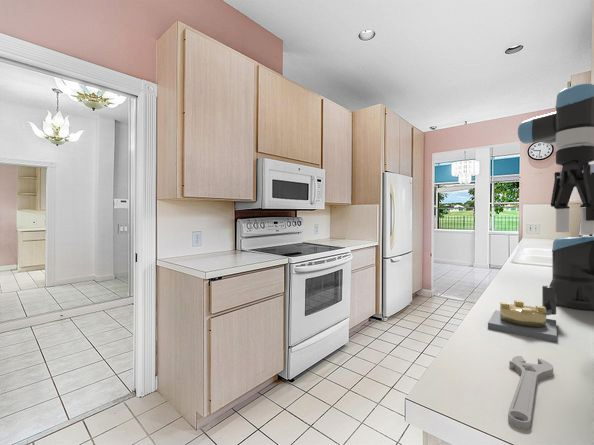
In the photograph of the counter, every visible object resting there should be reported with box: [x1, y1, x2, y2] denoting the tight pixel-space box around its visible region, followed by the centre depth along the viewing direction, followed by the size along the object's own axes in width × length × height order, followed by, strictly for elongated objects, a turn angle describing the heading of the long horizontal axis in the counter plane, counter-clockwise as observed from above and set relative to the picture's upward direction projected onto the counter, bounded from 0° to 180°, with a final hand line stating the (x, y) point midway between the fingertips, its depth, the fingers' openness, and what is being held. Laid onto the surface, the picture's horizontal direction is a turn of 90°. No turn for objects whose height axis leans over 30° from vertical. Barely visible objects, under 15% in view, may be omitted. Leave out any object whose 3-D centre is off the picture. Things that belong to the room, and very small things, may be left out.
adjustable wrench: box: [507, 355, 554, 430], centre depth 52 cm, size 25×6×2 cm, turn 133°
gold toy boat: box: [499, 285, 557, 327], centre depth 82 cm, size 18×10×8 cm, turn 109°
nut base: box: [487, 309, 558, 343], centre depth 83 cm, size 19×15×2 cm
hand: (574, 233), depth 78 cm, fingers open, 10 cm apart
